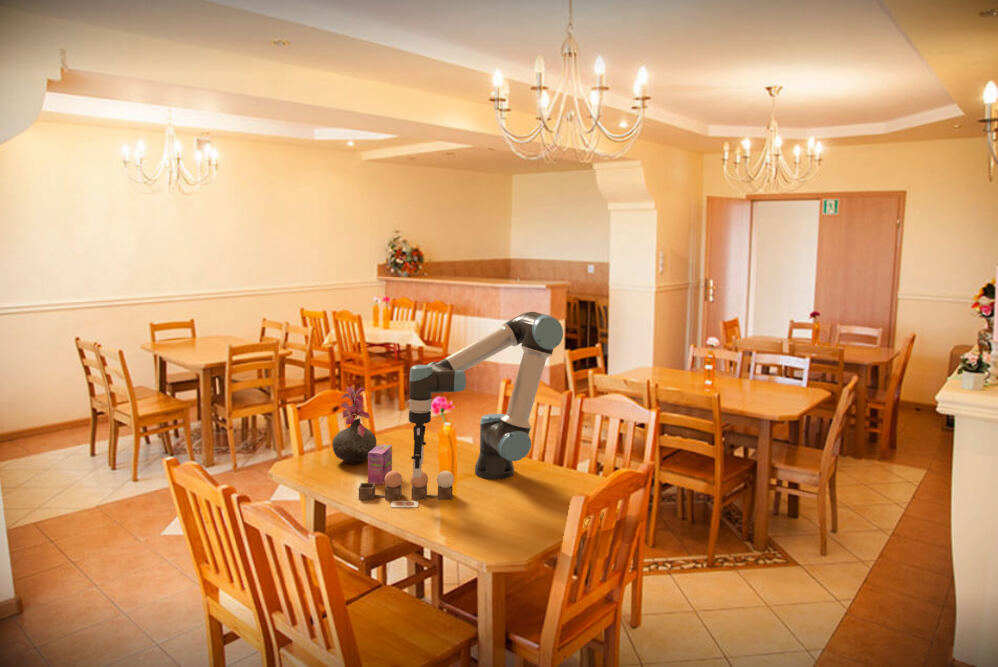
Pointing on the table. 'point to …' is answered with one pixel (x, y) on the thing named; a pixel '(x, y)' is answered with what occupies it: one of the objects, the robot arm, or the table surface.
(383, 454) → the box
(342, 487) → the table surface
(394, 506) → the card
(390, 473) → the terracotta ball
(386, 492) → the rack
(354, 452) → the vase
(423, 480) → the terracotta ball
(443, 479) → the ball cream
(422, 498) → the rack
